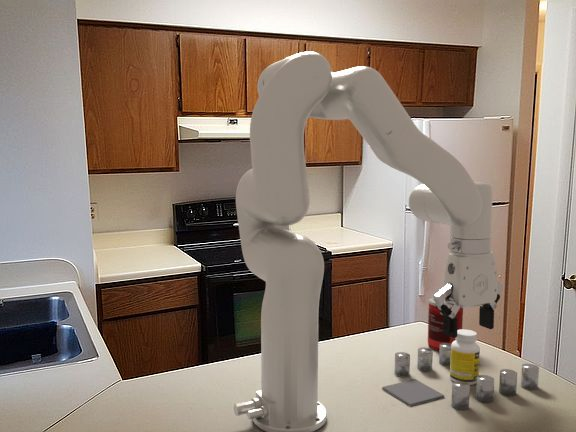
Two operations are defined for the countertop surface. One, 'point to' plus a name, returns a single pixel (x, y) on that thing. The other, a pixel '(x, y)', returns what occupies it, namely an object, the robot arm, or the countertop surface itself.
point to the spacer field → (462, 388)
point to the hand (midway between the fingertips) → (468, 331)
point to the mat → (412, 392)
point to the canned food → (440, 326)
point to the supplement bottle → (465, 357)
